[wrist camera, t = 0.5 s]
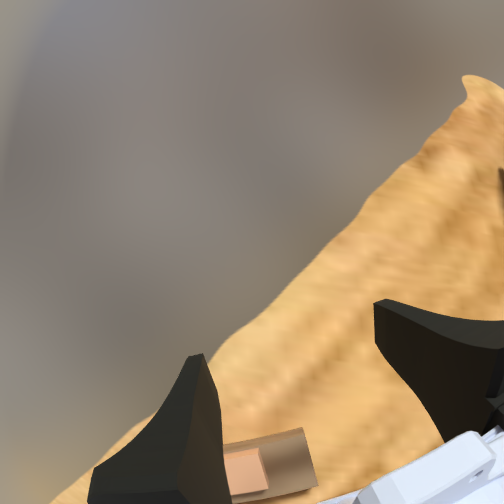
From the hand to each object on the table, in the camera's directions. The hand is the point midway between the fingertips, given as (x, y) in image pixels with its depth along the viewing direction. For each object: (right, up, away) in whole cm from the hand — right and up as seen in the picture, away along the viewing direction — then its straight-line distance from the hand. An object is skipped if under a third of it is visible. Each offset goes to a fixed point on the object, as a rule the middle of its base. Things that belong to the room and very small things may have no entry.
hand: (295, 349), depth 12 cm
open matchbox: (0, -21, +19) cm, 28 cm away
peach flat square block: (-3, -19, +17) cm, 26 cm away
